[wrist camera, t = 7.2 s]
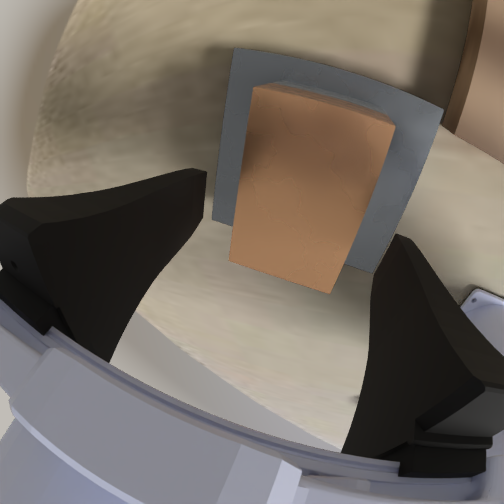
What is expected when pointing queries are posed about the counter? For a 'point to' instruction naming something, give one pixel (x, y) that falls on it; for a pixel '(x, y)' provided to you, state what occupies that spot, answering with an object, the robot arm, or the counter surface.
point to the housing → (306, 181)
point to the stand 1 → (349, 84)
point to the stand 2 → (481, 82)
